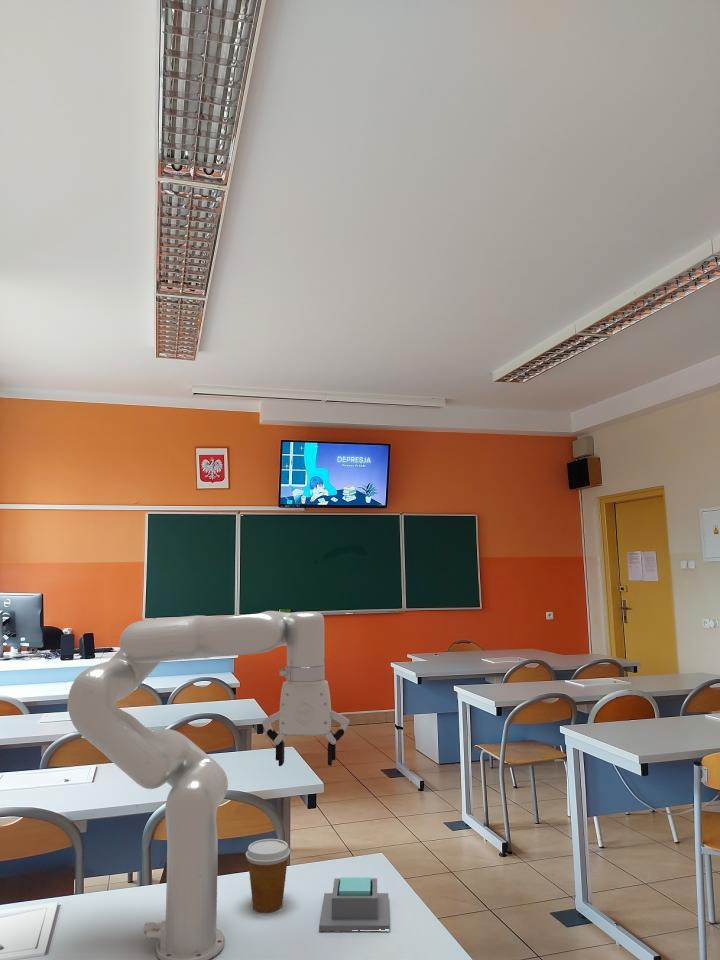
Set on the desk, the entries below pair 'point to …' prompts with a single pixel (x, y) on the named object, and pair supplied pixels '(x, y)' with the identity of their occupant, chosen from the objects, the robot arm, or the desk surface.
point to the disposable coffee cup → (267, 873)
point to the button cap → (355, 886)
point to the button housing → (354, 910)
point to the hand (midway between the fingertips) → (305, 764)
